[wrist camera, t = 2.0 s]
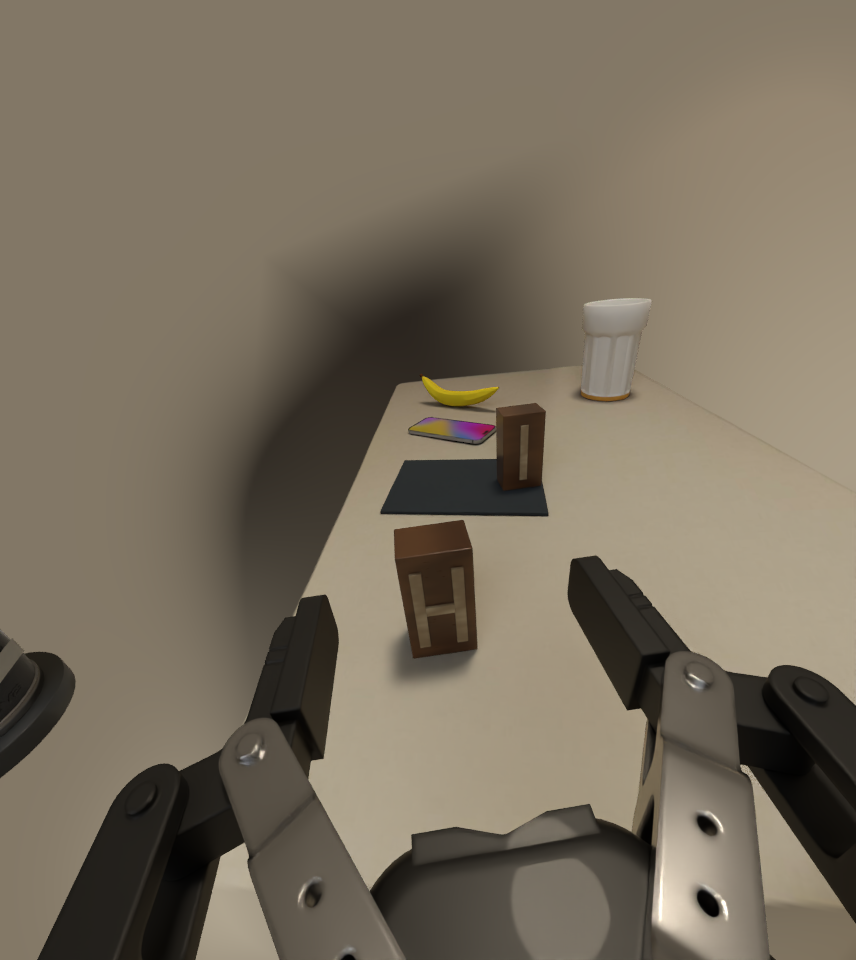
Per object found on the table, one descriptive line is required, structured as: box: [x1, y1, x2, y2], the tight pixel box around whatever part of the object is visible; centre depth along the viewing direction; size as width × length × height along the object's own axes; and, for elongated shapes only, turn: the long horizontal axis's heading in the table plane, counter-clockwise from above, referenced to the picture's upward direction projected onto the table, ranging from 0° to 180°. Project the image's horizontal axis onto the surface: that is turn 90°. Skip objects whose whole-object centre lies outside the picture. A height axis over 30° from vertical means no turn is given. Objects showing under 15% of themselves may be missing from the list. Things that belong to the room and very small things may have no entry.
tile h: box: [394, 520, 477, 659], centre depth 27 cm, size 5×3×10 cm
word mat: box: [381, 459, 548, 516], centre depth 50 cm, size 20×14×1 cm
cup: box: [581, 298, 652, 401], centre depth 73 cm, size 11×11×17 cm
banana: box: [420, 374, 499, 406], centre depth 78 cm, size 3×19×6 cm, turn 54°
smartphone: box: [408, 417, 496, 444], centre depth 67 cm, size 7×1×15 cm
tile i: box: [496, 403, 546, 491], centre depth 46 cm, size 5×3×10 cm
